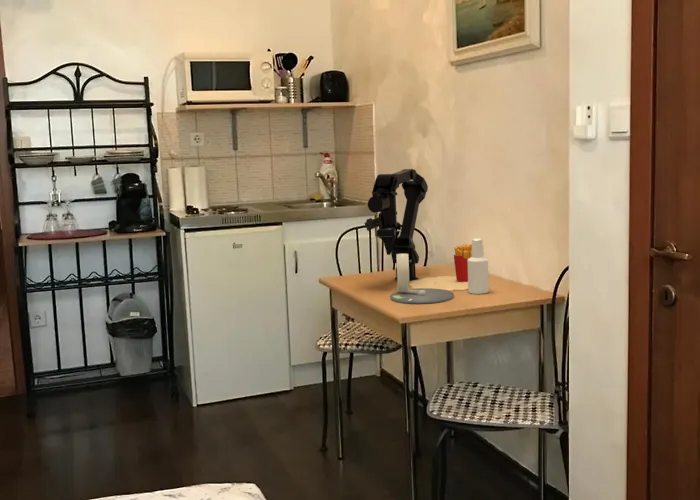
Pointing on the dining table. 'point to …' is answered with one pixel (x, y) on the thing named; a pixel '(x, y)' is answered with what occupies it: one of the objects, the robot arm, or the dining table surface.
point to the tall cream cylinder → (403, 274)
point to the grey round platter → (422, 296)
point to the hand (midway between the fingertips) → (390, 253)
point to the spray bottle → (478, 269)
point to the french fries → (462, 261)
